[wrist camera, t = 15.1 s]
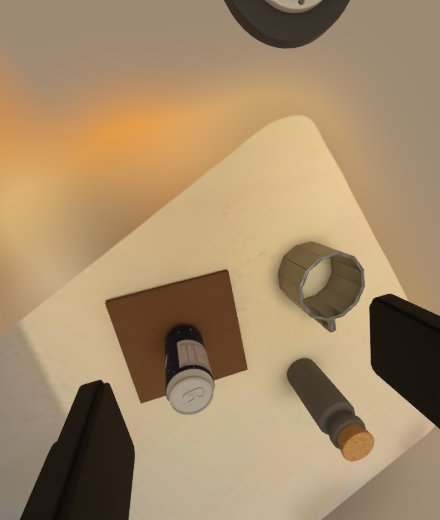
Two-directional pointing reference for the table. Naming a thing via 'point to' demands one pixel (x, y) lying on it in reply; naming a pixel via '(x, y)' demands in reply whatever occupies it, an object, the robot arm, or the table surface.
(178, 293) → the mat
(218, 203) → the table surface
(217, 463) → the table surface
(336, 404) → the bottle
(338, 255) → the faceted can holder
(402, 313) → the robot arm
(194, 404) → the beverage can
